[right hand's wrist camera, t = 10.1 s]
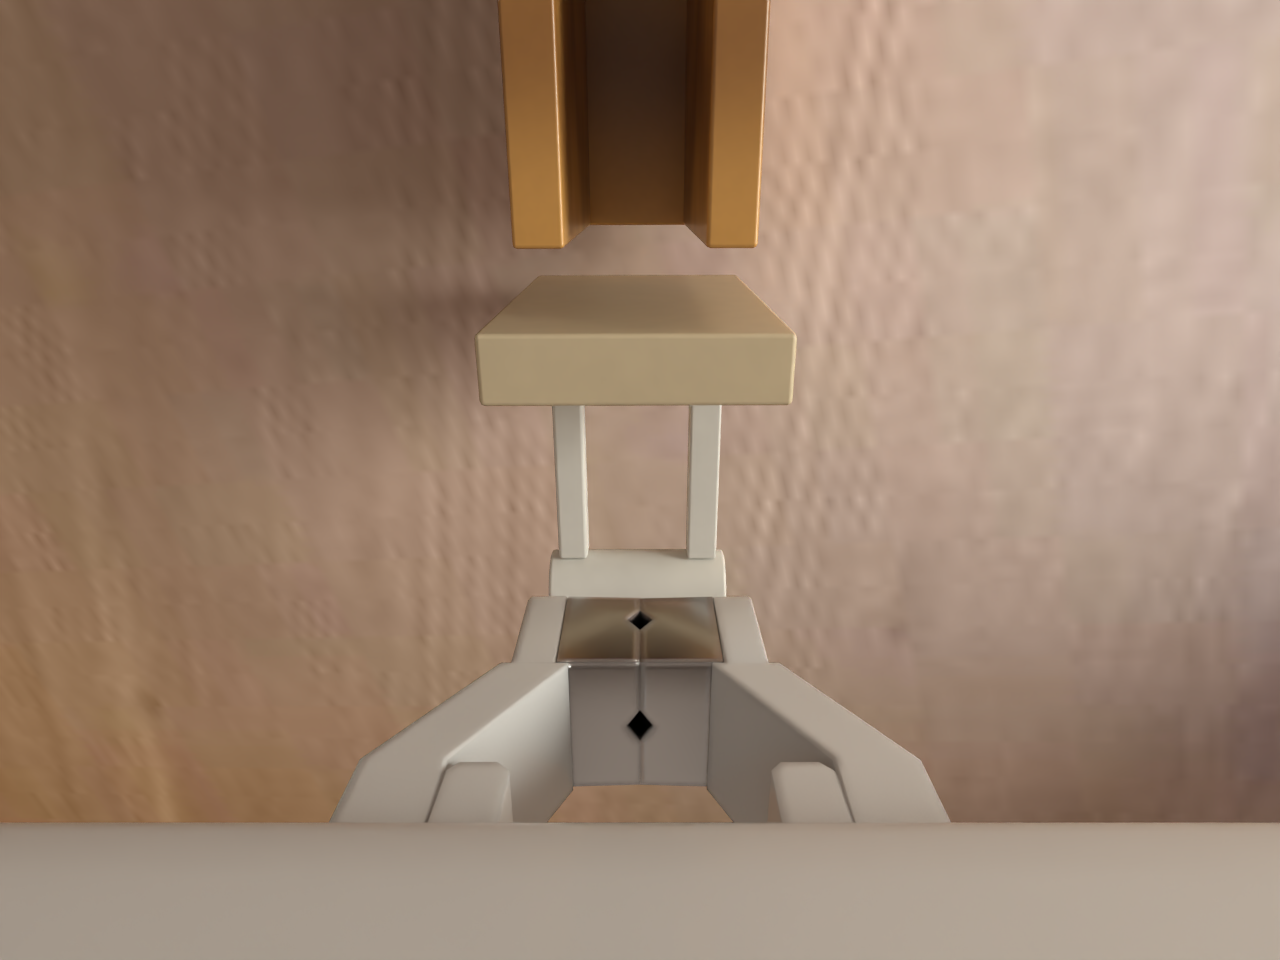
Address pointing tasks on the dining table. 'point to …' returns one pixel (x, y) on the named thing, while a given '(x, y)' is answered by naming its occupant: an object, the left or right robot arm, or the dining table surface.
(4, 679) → the dining table surface
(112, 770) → the dining table surface
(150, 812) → the dining table surface
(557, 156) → the drawer
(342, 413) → the dining table surface
